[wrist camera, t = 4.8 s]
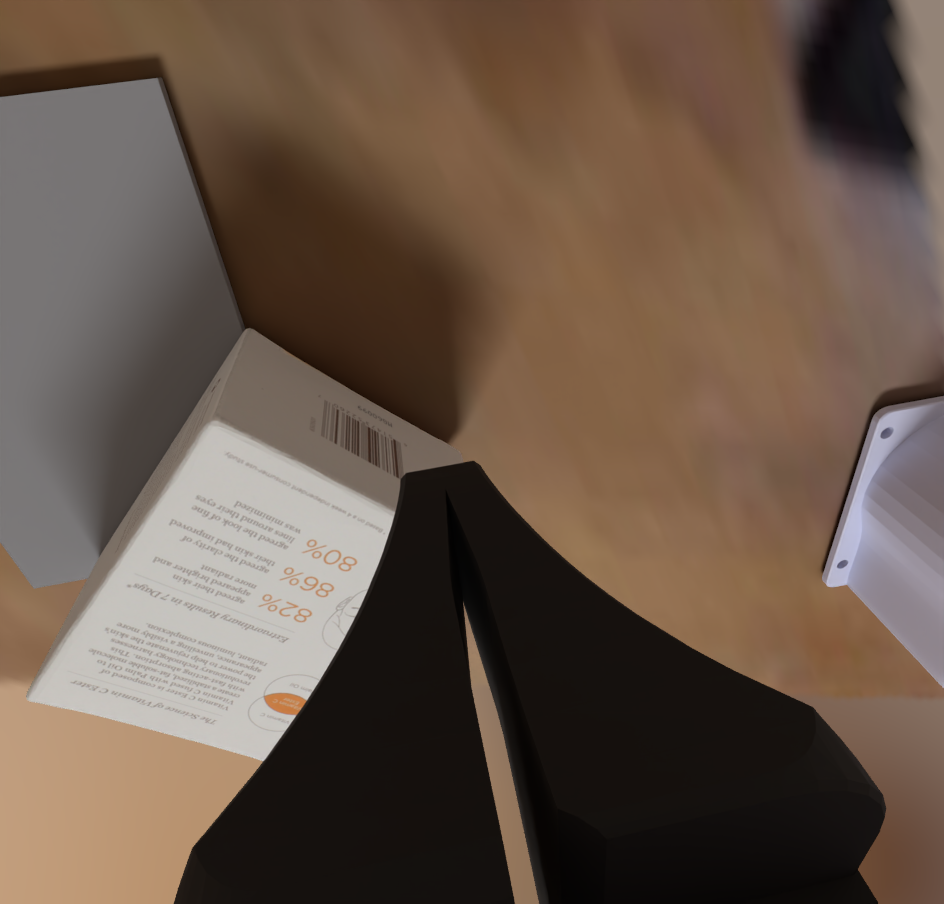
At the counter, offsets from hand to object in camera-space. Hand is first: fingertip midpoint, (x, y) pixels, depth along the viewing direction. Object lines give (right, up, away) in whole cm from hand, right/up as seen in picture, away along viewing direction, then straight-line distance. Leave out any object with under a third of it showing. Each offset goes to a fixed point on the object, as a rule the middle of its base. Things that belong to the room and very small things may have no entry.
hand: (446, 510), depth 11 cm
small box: (-2, +2, +5) cm, 6 cm away
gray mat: (-11, +3, +7) cm, 13 cm away
